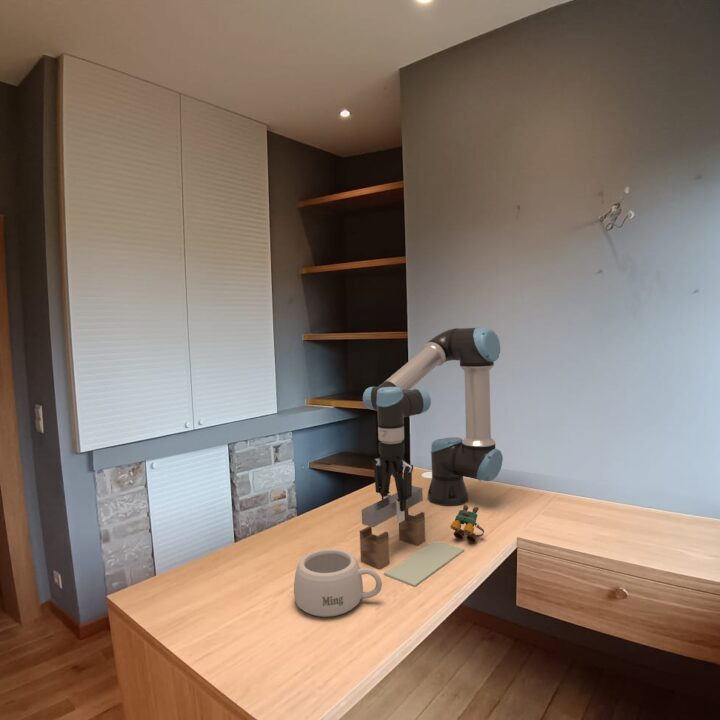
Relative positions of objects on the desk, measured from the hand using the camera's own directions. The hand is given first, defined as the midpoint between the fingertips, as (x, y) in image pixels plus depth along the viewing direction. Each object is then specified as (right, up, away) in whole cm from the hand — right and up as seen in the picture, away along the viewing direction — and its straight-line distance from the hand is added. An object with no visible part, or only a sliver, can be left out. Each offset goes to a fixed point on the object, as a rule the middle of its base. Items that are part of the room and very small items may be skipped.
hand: (394, 519), depth 141 cm
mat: (+8, -10, -7) cm, 15 cm away
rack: (0, -10, 0) cm, 10 cm away
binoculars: (+22, -9, +6) cm, 25 cm away
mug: (-15, -12, -25) cm, 31 cm away
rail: (0, +2, 0) cm, 2 cm away
